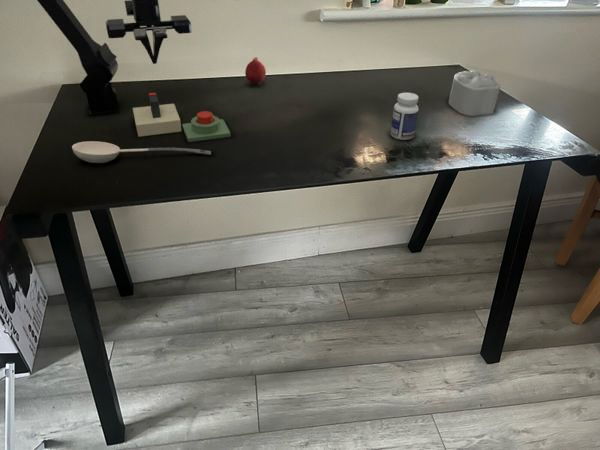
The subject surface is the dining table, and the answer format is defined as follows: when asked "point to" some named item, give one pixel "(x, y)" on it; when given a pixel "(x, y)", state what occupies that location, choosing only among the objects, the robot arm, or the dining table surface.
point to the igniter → (205, 130)
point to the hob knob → (154, 105)
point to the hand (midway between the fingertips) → (154, 63)
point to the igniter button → (205, 117)
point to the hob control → (157, 120)
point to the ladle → (115, 151)
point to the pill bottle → (404, 116)
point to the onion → (255, 71)
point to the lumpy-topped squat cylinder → (474, 93)
